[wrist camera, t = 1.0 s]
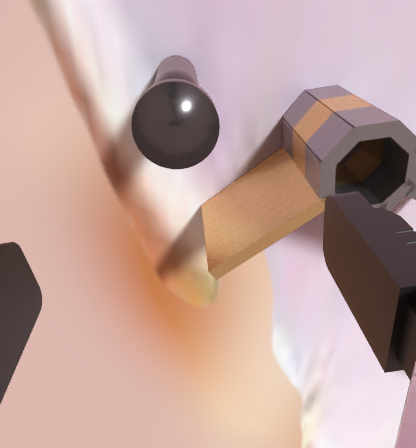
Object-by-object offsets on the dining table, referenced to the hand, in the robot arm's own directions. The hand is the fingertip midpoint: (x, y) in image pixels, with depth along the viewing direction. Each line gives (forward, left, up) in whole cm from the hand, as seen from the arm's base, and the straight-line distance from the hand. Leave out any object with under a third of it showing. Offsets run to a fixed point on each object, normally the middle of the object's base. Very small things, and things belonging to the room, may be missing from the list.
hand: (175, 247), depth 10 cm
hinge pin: (0, 0, -24) cm, 25 cm away
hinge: (+8, +12, -25) cm, 28 cm away
